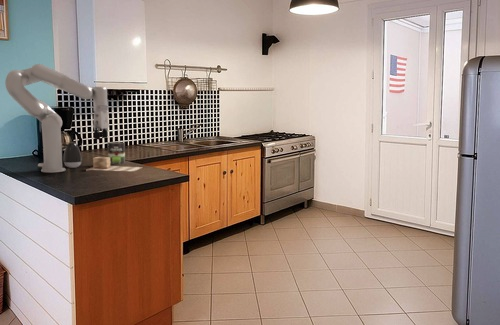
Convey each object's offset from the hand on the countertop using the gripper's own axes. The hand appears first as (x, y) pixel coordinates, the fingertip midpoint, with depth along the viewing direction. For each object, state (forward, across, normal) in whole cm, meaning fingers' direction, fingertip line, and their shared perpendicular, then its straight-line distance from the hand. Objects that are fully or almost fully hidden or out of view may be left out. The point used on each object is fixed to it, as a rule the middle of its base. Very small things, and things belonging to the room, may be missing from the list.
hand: (100, 138), depth 257 cm
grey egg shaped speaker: (+19, +6, +21) cm, 28 cm away
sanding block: (+17, 0, 0) cm, 17 cm away
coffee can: (+18, +19, -1) cm, 27 cm away
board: (+18, 0, -8) cm, 20 cm away
